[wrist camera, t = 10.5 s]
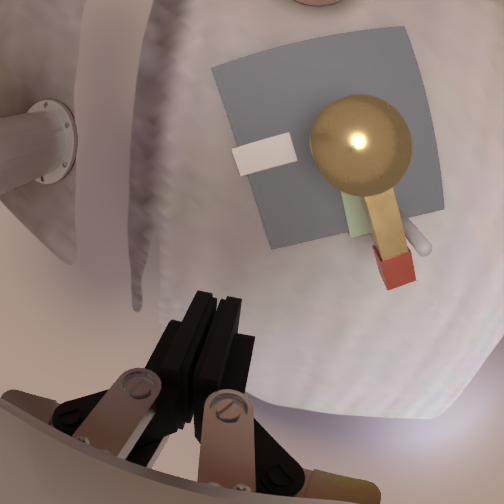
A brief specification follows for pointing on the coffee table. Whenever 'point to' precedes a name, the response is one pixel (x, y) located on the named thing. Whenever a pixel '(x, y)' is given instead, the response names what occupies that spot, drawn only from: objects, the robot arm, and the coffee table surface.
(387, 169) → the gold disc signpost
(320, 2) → the teacup with lid
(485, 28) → the coffee table surface
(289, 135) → the plate
